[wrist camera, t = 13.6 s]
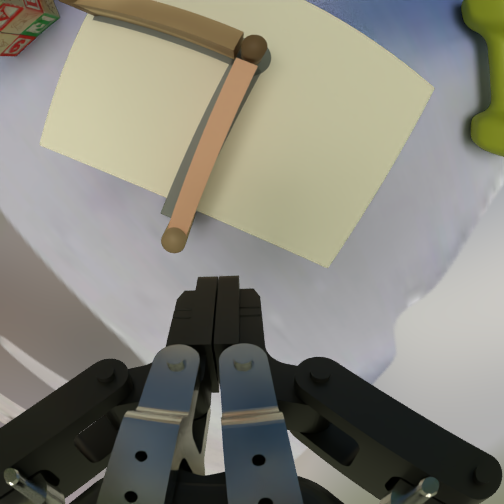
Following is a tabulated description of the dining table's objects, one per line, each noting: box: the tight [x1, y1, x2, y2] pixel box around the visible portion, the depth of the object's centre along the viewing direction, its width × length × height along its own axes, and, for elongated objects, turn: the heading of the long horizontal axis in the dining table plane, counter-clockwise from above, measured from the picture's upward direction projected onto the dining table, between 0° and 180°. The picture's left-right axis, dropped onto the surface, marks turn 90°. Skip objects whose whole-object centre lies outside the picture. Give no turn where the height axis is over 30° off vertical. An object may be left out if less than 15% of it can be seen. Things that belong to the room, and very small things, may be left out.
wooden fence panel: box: [59, 0, 267, 65], centre depth 17 cm, size 2×16×6 cm, turn 63°
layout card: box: [40, 0, 435, 268], centre depth 24 cm, size 23×31×1 cm
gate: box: [161, 58, 258, 253], centre depth 22 cm, size 2×14×6 cm, turn 157°
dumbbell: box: [461, 0, 504, 157], centre depth 19 cm, size 16×8×7 cm, turn 6°
